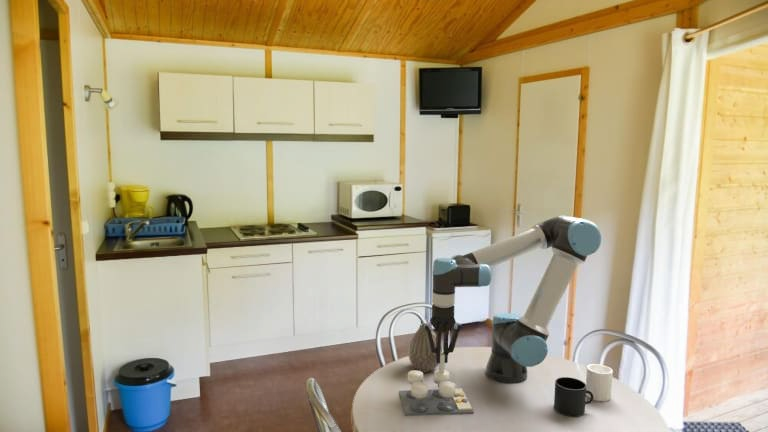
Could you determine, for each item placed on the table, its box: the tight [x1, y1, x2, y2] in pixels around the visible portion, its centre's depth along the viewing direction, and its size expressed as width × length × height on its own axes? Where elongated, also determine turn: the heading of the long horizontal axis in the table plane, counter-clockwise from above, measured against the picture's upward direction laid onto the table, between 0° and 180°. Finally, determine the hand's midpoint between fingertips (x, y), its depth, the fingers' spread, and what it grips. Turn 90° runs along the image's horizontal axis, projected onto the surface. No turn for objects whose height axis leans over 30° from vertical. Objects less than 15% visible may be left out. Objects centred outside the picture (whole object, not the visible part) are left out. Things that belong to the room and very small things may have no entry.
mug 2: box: [585, 363, 614, 402], centre depth 175 cm, size 8×12×10 cm, turn 7°
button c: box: [407, 369, 424, 386], centre depth 171 cm, size 5×5×5 cm
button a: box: [433, 369, 450, 389], centre depth 172 cm, size 5×5×5 cm
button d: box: [410, 381, 429, 402], centre depth 162 cm, size 5×5×5 cm
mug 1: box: [553, 376, 593, 418], centre depth 163 cm, size 9×12×9 cm
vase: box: [407, 323, 443, 373], centre depth 194 cm, size 13×13×18 cm
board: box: [399, 388, 474, 417], centre depth 168 cm, size 22×16×2 cm
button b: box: [438, 380, 456, 401], centre depth 163 cm, size 5×5×5 cm
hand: (441, 371), depth 171 cm, fingers closed
